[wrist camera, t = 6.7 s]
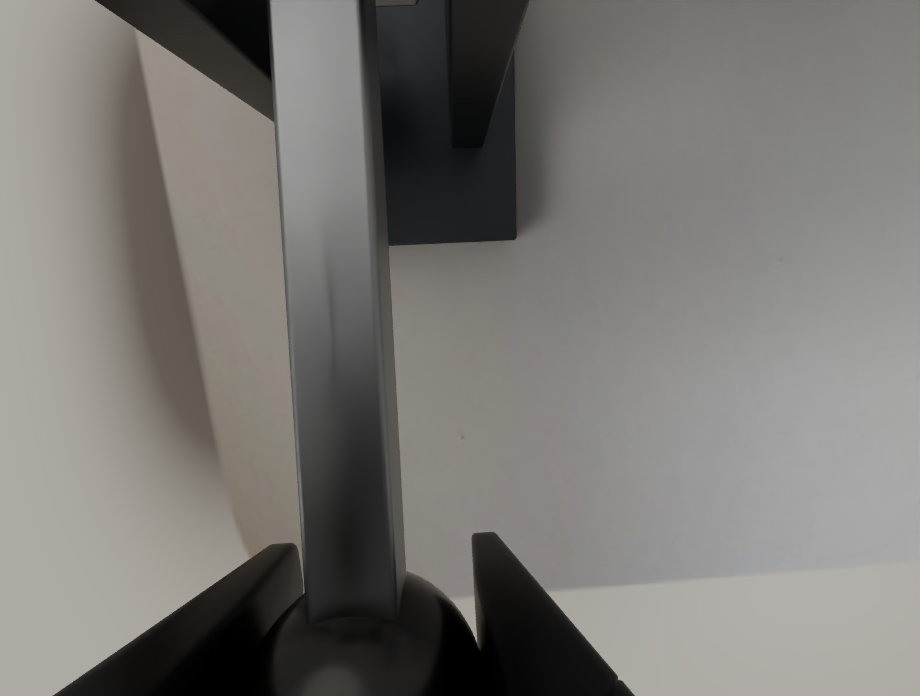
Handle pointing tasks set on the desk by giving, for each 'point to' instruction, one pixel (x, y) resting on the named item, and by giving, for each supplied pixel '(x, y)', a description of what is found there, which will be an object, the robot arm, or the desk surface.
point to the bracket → (391, 100)
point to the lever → (346, 384)
